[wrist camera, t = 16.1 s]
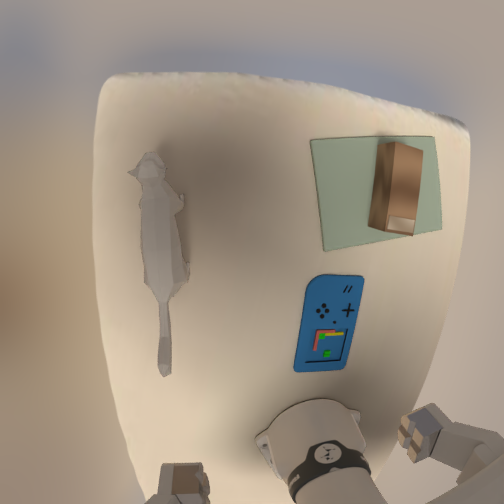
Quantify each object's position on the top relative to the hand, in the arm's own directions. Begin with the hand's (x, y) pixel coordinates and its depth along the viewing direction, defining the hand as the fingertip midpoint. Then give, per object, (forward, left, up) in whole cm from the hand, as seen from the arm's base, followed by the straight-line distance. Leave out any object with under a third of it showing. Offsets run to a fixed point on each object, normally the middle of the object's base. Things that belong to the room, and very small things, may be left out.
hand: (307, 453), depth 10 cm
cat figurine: (+4, +8, -29) cm, 31 cm away
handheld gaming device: (-11, -10, -30) cm, 33 cm away
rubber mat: (+7, -20, -29) cm, 36 cm away
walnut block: (+7, -20, -28) cm, 36 cm away
